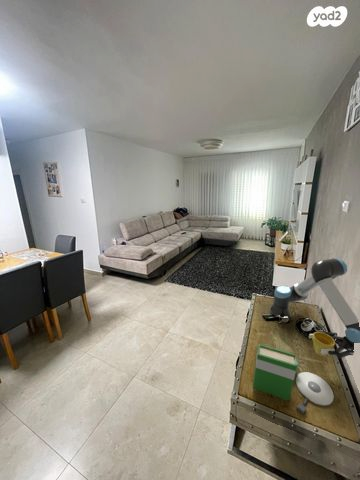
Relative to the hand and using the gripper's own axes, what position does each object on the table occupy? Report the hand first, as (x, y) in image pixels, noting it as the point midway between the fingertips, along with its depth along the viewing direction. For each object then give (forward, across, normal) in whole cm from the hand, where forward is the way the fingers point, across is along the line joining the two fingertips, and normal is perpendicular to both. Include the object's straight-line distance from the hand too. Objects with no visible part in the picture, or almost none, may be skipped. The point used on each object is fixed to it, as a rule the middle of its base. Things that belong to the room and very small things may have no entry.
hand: (315, 343), depth 114 cm
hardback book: (+29, -13, -18) cm, 37 cm away
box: (+17, -1, -18) cm, 25 cm away
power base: (+9, -16, -18) cm, 26 cm away
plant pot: (-4, 0, -6) cm, 7 cm away
